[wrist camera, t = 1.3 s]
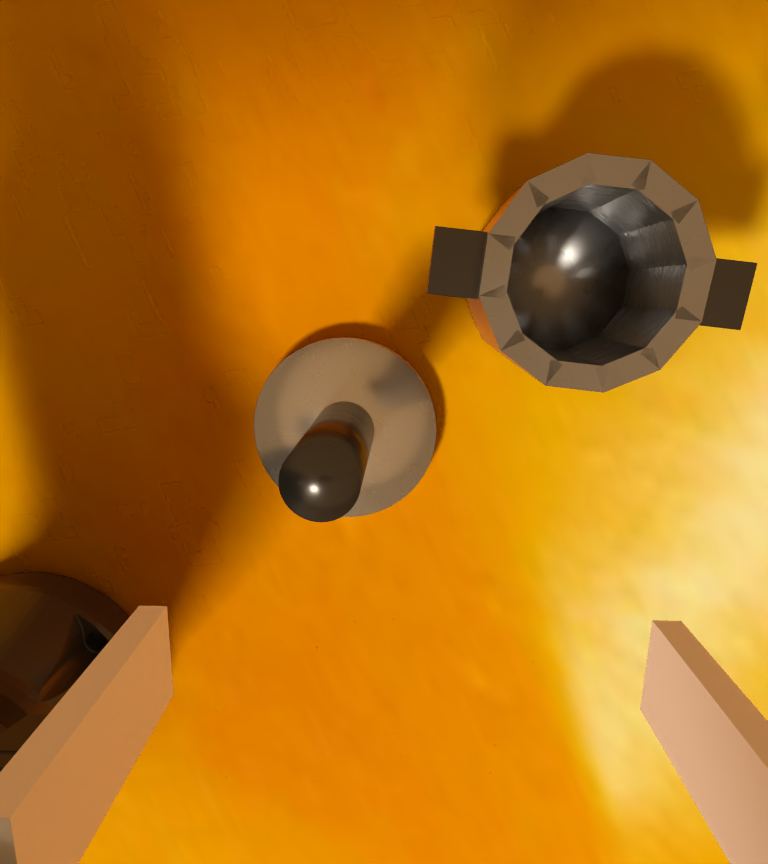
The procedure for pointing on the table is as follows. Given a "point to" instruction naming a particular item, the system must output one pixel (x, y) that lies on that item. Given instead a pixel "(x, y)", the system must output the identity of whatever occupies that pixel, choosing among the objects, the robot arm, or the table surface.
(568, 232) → the pot
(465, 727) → the table surface
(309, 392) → the lid
